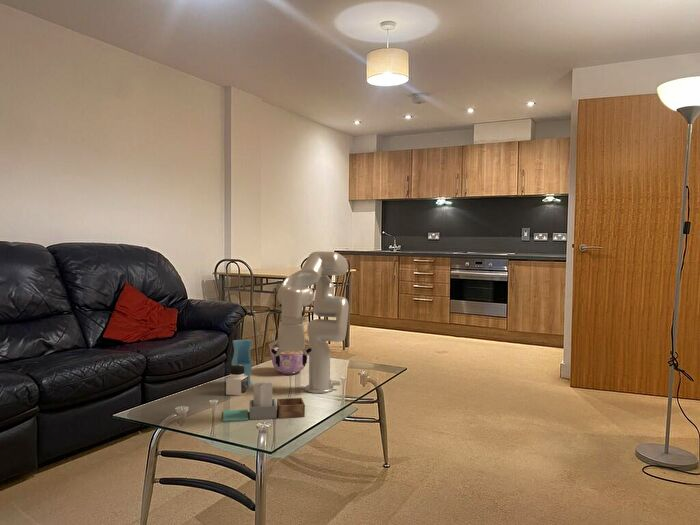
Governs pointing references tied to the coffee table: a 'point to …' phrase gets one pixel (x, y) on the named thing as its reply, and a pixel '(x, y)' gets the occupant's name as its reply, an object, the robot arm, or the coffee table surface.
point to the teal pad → (235, 415)
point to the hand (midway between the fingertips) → (291, 365)
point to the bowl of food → (288, 361)
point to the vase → (243, 356)
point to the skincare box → (262, 394)
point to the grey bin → (263, 411)
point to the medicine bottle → (237, 381)
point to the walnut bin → (290, 407)
